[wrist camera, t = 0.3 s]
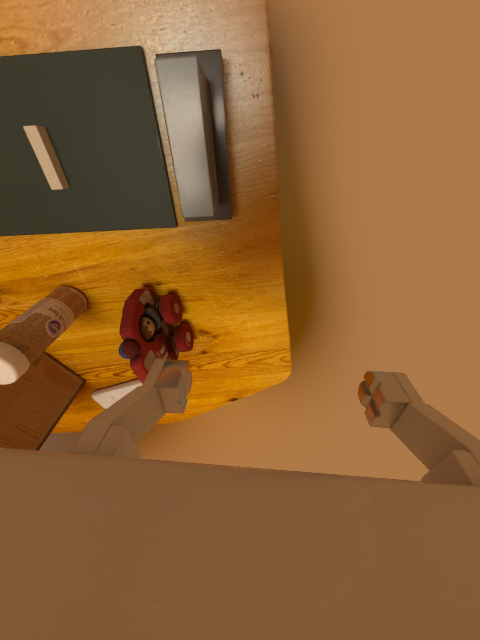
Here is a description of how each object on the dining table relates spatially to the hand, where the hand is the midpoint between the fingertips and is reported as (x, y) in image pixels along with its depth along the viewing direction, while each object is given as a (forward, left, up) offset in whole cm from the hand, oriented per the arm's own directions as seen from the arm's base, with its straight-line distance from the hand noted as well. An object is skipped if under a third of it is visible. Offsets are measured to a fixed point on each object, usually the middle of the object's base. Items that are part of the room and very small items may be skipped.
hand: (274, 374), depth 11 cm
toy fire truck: (+11, -14, -21) cm, 28 cm away
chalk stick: (-9, -20, -21) cm, 30 cm away
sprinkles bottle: (+7, -26, -21) cm, 34 cm away
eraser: (-9, -5, -21) cm, 23 cm away
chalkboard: (-9, -23, -21) cm, 32 cm away
